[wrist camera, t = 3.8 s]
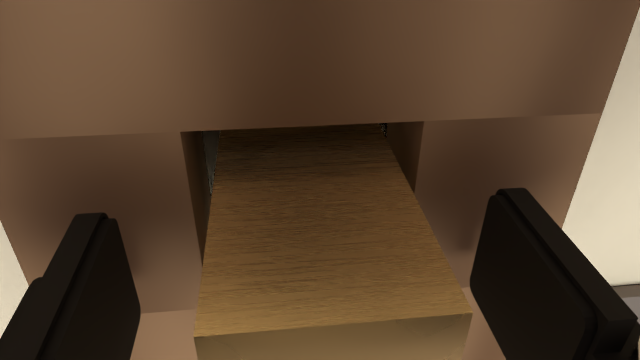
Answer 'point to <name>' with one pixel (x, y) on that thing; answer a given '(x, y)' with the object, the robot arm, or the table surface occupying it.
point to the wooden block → (322, 254)
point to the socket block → (288, 117)
